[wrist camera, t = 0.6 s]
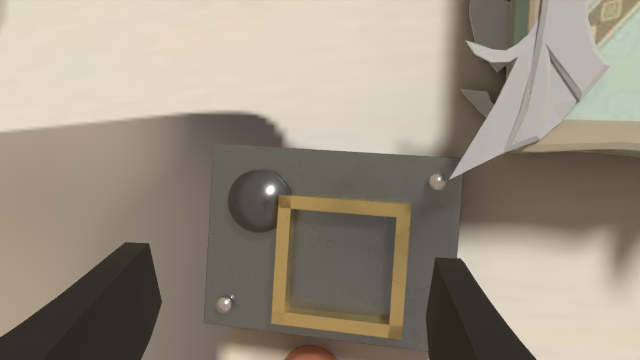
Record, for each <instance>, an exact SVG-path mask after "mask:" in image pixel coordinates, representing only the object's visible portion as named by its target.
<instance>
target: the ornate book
mask: <svg viewBox="0 0 640 360" xmlns="http://www.w3.org/2000/svg"><path fill="white" fill-rule="evenodd" d="M469 17H470V22H471V26H472V31H473V36H474V41H475V43H472V42H469V41H465V42H466V43H467V45H468V46H469V48H470V49H471V51H472V52H473V53H474V55H475V56H477V57H479V58H481V59H483V60H485V61H487V62H488V63H489V64H490V65H491V66H492V67H493V68H494V70H495V71H496V72H497V73H498V72H499V71H500V70H501V69H502V68H503V67H505V68H507V71H506V82H505V84H504V86H503V88H502V90H501V92H500V94H499V96H498V98H497V100H496V102H495V104H493V103H492V102H491V99H490V97H489V94H488V92H487V91H479V90H468V89H459V90H460V91H461V92H462V93H463V94H464V95H465V97H466V98H467V99H468V100H469V101H470V102H471V103H472V105H473V106H474V107H475V108H476V109H477V110H478V111H479V112H480V113H481V114H482V115H483V116H484V117H485V118H486V120H485V121H484V123H483V125H482V126H481V128H480V130H479V131H478V133H477V135H476V136H475V138H474V139H473V141H472V143H471V144H470V146H469V148H468V149H467V151H466V153H465V154H464V156H463V158H462V159H461V161H460V162H459V164H458V166H457V167H456V169H455V171H454V172H453V174H452V176H451V177H450V179H451V178H454V177H456V176H458V175H460V174H462V173H464V172H466V171H468V170H470V169H472V168H474V167H476V166H478V165H480V164H482V163H484V162H486V161H488V160H490V159H492V158H495V157H497V156H499V155H501V154H531V153H557V152H590V153H600V154H609V155H618V156H627V157H636V158H640V0H510V1H506V0H470V3H469Z"/></svg>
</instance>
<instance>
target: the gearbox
mask: <svg viewBox="0 0 640 360" xmlns="http://www.w3.org/2000/svg"><path fill="white" fill-rule="evenodd" d="M461 159H462V158H446V157H430V156H413V155H396V154H379V153H363V152H346V151H329V150H312V149H296V148H279V147H262V146H246V145H245V146H244V145H229V144H214V145H213V164H212V182H211V200H210V219H209V237H208V257H207V274H206V292H205V312H204V323H207V324H215V325H223V326H231V327H239V328H247V329H254V330H262V331H270V332H278V333H286V334H294V335H302V336H310V337H318V338H325V339H333V340H341V341H349V342H357V343H365V344H373V345H381V346H388V347H396V348H404V349H412V350H420V351H428V341H427V329H426V311H427V305H428V299H429V293H430V287H431V280H432V274H433V268H434V262H435V257H439V258H457V250H458V236H459V223H460V210H461V196H462V183H463V173H462V174H460V175H458V176H456V177H454V178H451V179H450V177H451V176H452V174H453V172H454V171H455V169H456V167H457V166H458V164H459V162H460V161H461Z"/></svg>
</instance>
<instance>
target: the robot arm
mask: <svg viewBox="0 0 640 360" xmlns="http://www.w3.org/2000/svg"><path fill="white" fill-rule="evenodd" d="M161 303H162V300H161V296H160V292H159V287H158V282H157V278H156V273H155V269H154V264H153V260H152V255H151V250H150V246H149V244H148V243H129V242H125V243H124V244H123V245H122V246H120V247H119V248H118V249H116V250H115V251H114V252H113V253H112V254H110V255H109V256H108V257H106V258H105V259H104V260H103V261H102V262H100V263H99V264H98V265H97V266H95V267H94V268H93V269H92V270H91V271H89V272H88V273H87V274H86V275H84V276H83V277H82V278H81V279H79V280H78V281H77V282H76V283H74V284H73V285H72V286H71V287H70V288H68V289H67V290H66V291H64V292H63V293H62V294H61V295H59V296H58V297H57V298H55V299H54V300H52V301H51V302H50V303H48V304H47V305H46V306H44V307H43V308H42V309H40V310H39V311H38V312H36V313H35V314H33V315H32V316H31V317H29V318H28V319H27V320H25V321H24V322H23V323H21V324H20V325H18V326H17V327H15V328H14V329H12V330H11V331H9V332H8V333H6V334H5V335H3V336H2V337H0V360H141V358H142V356H143V354H144V352H145V349H146V347H147V345H148V343H149V340H150V338H151V335H152V332H153V329H154V326H155V323H156V320H157V316H158V313H159V310H160V306H161ZM426 329H427V341H428V352H429V359H430V360H536V358H535V357H534V356H533V355H532V354H531V353H530V351H529V350H528V349H527V348H526V347H525V346H524V344H523V343H522V342H521V341H520V340H519V338H518V337H517V336H516V335H515V333H514V332H513V331H512V330H511V328H510V327H509V326H508V324H507V323H506V322H505V321H504V319H503V318H502V317H501V315H500V314H499V313H498V311H497V310H496V309H495V307H494V306H493V305H492V303H491V302H490V300H489V299H488V298H487V296H486V295H485V293H484V292H483V290H482V289H481V288H480V286H479V285H478V283H477V282H476V280H475V279H474V277H473V276H472V274H471V272H470V271H469V269H468V268H467V266H466V265H465V263H464V262H463V261H462V260H461V259H459V258H439V257H435V262H434V268H433V274H432V280H431V287H430V293H429V299H428V305H427V311H426Z"/></svg>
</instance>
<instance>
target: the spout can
mask: <svg viewBox="0 0 640 360" xmlns="http://www.w3.org/2000/svg"><path fill="white" fill-rule="evenodd" d="M285 360H336V359H335V357H334V356H333V355H332V354H330V353H329V352H328V351H326V350H324V349H322V348H320V347H316V346H303V347H300V348H297V349H295V350H293V351H292V352H291V353H290V354H289V355H288V356H287V357H286V358H285Z"/></svg>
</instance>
